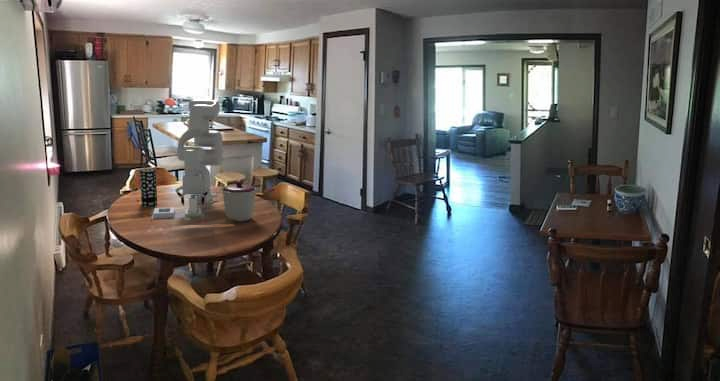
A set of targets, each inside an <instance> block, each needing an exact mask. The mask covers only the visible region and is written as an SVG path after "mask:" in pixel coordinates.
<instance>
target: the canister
mask: <svg viewBox="0 0 720 381" xmlns="http://www.w3.org/2000/svg"><path fill="white" fill-rule="evenodd" d="M243 182H244V181H243V180H236V181H235V183H234V184H228V185H225V186H224V187H222V188H221V192H222V195H223V196H222V197H223V203H224V204H223V205H224V210H225V215H226V218H227V219H229V220H233V222H239V223H240V222H246V221H249V220H251V219H252V217H253V214H254V208H255V199H256V198H255V197H256V192H257V189H258V188H257V187H255V186H253V185H251V184H245V183H243Z"/></svg>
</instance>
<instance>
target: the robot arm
mask: <svg viewBox="0 0 720 381" xmlns="http://www.w3.org/2000/svg"><path fill="white" fill-rule="evenodd" d="M220 104H221V103H220V102H219V101H218V100H216V99H199V98H198V99H197V98H196V99H191V100H189V102H188V109H189V115H188V116H189V117H188V127H187V130H186V131H185V132H183V133H182V134H181V136H180V137H179V140H178V143H177V149H176V150H177V152H176V155H177V159H178V160H180V161H183V164H184V174H183V175H182V182H181V184H182V185H181V186H179V187H177V188H175V193H176V195H177V196H178V197H179V198H180V201H181V202H180V203H181V204H182V206H185V197H184V196H186V195H195V196H197V205H198V206H199V205H202V206H203V205H210V204H212V203H215V202H214V198H218V197H219V196H218V194H217V193H214V194H213V193H211V192H212V191H211V171H210V170H209V169H208V166H209V167H213V166H214V167H215V166H216V167H218V166H220V165H222V163H223V155H224V154H223V153H224V152H223V144H224V143H223V140H224V139H223V134H222V133H221V132H220V131H219V130H210V121H215V120H217V118H218V116H219V114H220V112H221V105H220ZM192 139H194V140H193V141H194V145H195V146H185V145H186V143H188V141H190V140H192ZM206 148H207V149H206ZM208 148H209V149H208ZM210 148H212V149H210ZM180 191H182V193H180Z"/></svg>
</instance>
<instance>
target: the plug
mask: <svg viewBox="0 0 720 381" xmlns="http://www.w3.org/2000/svg"><path fill="white" fill-rule="evenodd" d="M188 209H189V213H197V209H198V204H197V196H195V195H194V194H190V195H189V196H188Z"/></svg>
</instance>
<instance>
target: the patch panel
mask: <svg viewBox="0 0 720 381" xmlns="http://www.w3.org/2000/svg"><path fill="white" fill-rule="evenodd" d="M153 210H154V211H153V212H152V215H151V218H150V220H151V222H152V221H153V220H160V219H161V220H162V219H184V218H185V219H190V218H205V210H204V209H202V208H200V207H199V208H197V213H189V208H185V209H184V210H176V208H175V206H174V207H173V206H172V207H155V208H154V209H153Z"/></svg>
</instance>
